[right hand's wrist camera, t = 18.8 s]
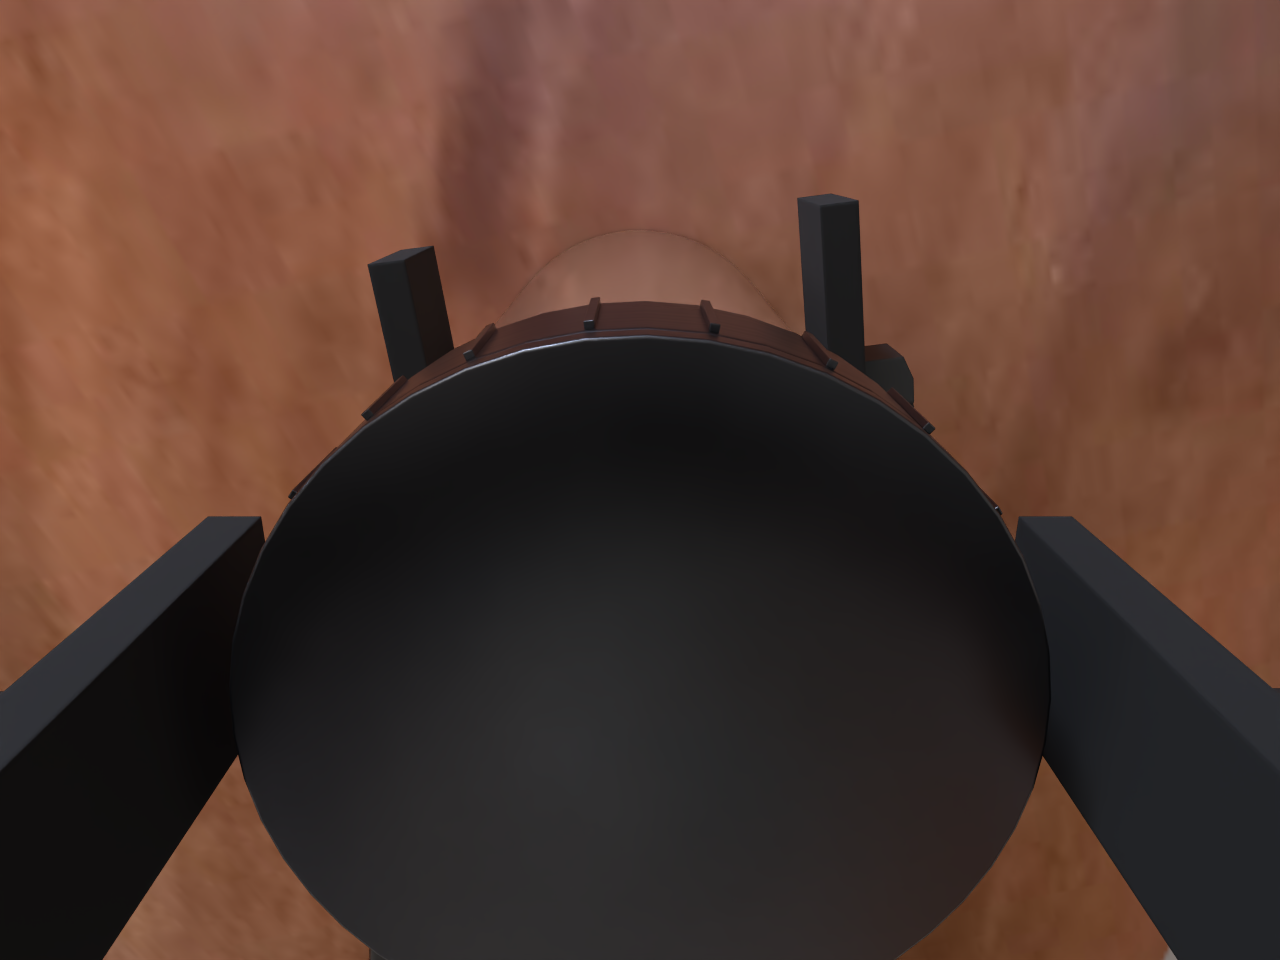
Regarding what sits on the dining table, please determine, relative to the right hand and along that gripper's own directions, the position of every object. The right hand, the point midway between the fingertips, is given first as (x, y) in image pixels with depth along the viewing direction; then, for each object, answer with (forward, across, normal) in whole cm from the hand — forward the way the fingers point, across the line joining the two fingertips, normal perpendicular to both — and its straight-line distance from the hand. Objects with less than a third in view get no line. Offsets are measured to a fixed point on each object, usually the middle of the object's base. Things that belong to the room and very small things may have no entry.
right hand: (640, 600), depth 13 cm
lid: (-3, 0, 0) cm, 3 cm away
